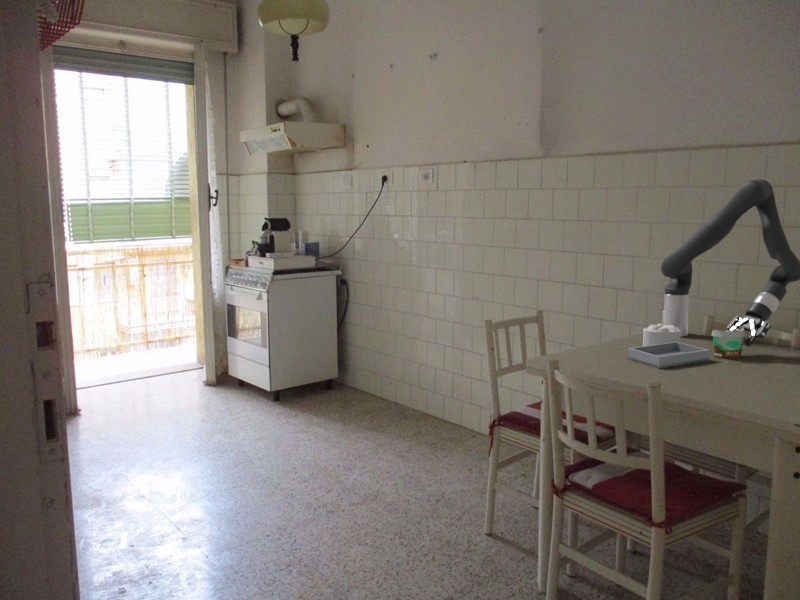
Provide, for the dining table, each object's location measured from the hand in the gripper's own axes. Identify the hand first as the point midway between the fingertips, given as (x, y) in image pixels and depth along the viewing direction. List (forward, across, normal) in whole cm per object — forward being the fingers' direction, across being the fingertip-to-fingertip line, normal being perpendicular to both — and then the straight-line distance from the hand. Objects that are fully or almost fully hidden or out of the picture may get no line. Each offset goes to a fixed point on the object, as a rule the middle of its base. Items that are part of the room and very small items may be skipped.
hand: (736, 342), depth 237 cm
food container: (+5, 0, +2) cm, 6 cm away
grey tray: (+20, -8, -13) cm, 25 cm away
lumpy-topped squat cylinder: (+12, -25, -4) cm, 28 cm away
